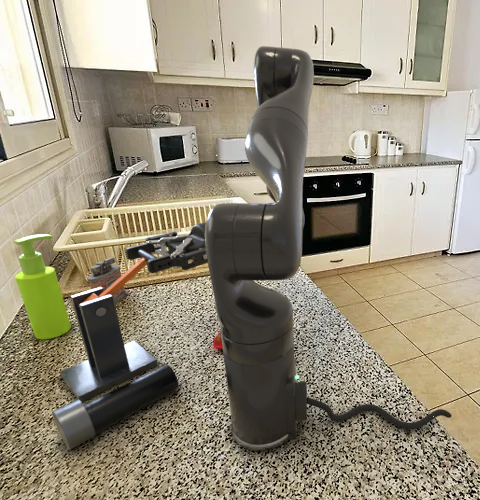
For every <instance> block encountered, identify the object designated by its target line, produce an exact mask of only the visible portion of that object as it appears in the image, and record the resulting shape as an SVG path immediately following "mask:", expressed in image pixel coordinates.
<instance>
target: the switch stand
mask: <svg viewBox="0 0 480 500" xmlns="http://www.w3.org/2000/svg"><path fill="white" fill-rule="evenodd" d="M103 292H104V291H103V288H102V287H98V288H95V289H92V290H91V289H88V290H85V291H82V292H79V293H75V294H73V295H70V300H71V304H72V308H73V312H74V314H75V318H76V321H77V326H78V329H79V332H80V336H81V339H82V343H83V346H84V350H85V353H86V357H87V360H84V361H82V362H80V363H78V364H75V365H73V366H71V367H70V366H69V367H68V368H65V369H63V370H61V371H59V374H60V377H61V379H62V380H63V382H64V383H65V384H66V386H67V387H68V388H69V390H70V391H71V392H72V394H73V395H74V397H75V398H76V400H77V399H79V400H80V401H81V402H82V403H83V402H86V401H87V400H89V399H91V398H93V397H95V396H97V395H99V394H101V393H103V392H106V391H108V390H109V389H112V388H113V387H115V386H118V385H120V384H121V383H125V382H126V381H128V380H130V379H132V378H135V377H136V376H138V375H140V374H142V373H144V372H146V371H148V370H150V369H152V368H154V367H156V366H158V361H157V358H155V357H154V356H153V355H152V354H151V353H149V351H148V350H146V349H145V348H144V347H143V346H141V345H140V344H139V343H138V342H137V341H136V339H135V340H132V341H129V342H127V343H125V342H124V338H123V334H122V330H121V326H120V322H119V316H118V313H117V310H116V309H117V308H116V304H115V303H114V299H113V296H112V295H111V294H109V295H106V296H103V297H100V298H97V299H94V300H91V301H88V302H85V303H82V302H84V301H85V300H86V299H87V298H88V297H89V296H91V295H92V294H93V293H94V294H95V295H97V296H99V295H100V294H101V293H103ZM81 303H82V304H81ZM79 306H80V307H79Z"/></svg>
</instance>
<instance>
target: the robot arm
mask: <svg viewBox="0 0 480 500" xmlns="http://www.w3.org/2000/svg"><path fill="white" fill-rule="evenodd" d="M314 80H315V70H314V62H313V59H312V57H311V55H310V54H309V53H308V52H307V51H305V50H302V49H299V48H289V47H281V46H280V47H278V46H277V47H276V46H267V45H263V46H258V48H257V49H256V52H255V55H254V59H253V81H254V90H255V98H256V105H257V108H256V109H255V111H254V112H253V113H252V115H251V118H250V121H249V124H248V128H247V131H246V135H245V141H244V152H245V155H246V158H247V161H248V163H249V164H250V166H251V168H252V170H253V171H254V172H255V174H256V175H257V176H258V177H259V179H260V180H261V181H262V182H263V183H264V184H265V185H266V186H265V189H266V193H267V195H268V196H269V198H270V199H271V200H272V201H273V202H268V203H258V202H257V203H252V202H251V203H250V202H249V203H248V202H247V203H245V202H243V203H242V202H226V203H225V202H224V203H218V204H215V205H214V206H213V207H212V208H211V209H210V211H209V212H208V214H207V217H206V221H205V222H204V221H203V222H201V223H196V224H194V225H193V226H192V227H191V229H190V232H189V234H188V235H186V234H178V232H177V231H171V232H168V233H163V234H159V235H153V236H149V237H145V243H141V244H137V245H132V246H129V247H126V248H125V255H126V259H127V260H129V261H134V260H137V259H140V258H139V257H138V256H137V252H138V251H139V250H145V251H147V252H148V253H150V254H152V255H154V256H155V255H161V256H159V257H158V258H155V259H151V260H148V261H147V265H146V266H147V267H146V268H147V271H148V272H149V274H155V273H159V272H163V271H165V270H169V269H171V268H172V269H180V268H181V270H182V271H187V270H190V269H194V268H196V267H200V266H203V265H206V264H207V268H208V272H209V277H210V282H211V287H212V292H213V298H214V306H215V311H216V317H217V319H218V322H219V329H220V331H221V337H222V346H223V349H222V353H223V363H224V369H225V380H226V387H227V394H228V404H229V411H230V422H231V433H232V437H233V439H234V441H235V442H236V443H237V444H238V445H239V446H241V447H242V448H244V449H246V450H249V451H254V452H255V451H256V452H264V451H269V450H273V449H275V448H276V449H277V448H278V447H280V446H281V445H283V444H285V443H286V442H287V441H290V440H295V439H297V432H298V423H299V422H300V421H307V420H308V405H309V406H311V407H315V408H319V409H320V410H323V411H324V412H325V413H326V415H327V416H328V418H329V419H330V420H331V421H333V422H337V423H338V422H343V421H346V420H349V419H350V418H352V417H353V416H355V415H356V414H359V413H361V412H364V411H370V412H375V413H377V414H379V415H381V416H382V417H383V418H385V419H386V420H387V421H388V422H390V423H391V424H393V425H394V426H396V427H398V428H401V429H403V430H404V429H405V430H416V429H419V428H422V427H424V426H426V425H427V424H428V423H430V422H431V421H433V420H434V419H436V418H437V417H440V416H441V417H445V418H446V419H451V418H452V413H450V412H449V411H448V410H446V409H443V408H438V409H436V410H434V411H432V412H430V413H428V414H427V415H426V416H425V417H423V418H421V419H419V420H416V421H413V422H407V421H402V420H400V419H398V418H396V417H394V416H393V415H392V414H390V413H389V412H388V411H387V410H385V409H384V408H382V407H381V406H378V405H376V404H371V403H370V404H369V403H366V404H365V403H364V404H360V405H357V406H355V407H354V408H352V409H350V410H349V411H347V412H344V413H342V414H335V412H334V411H333V409H332V408H331V406H330V405H328V404H326V403H325V402H323V401H321V400H318V399H314V398H311V397H308V384H307V383H308V382H307V381H297V380H298V379H299V375H297V359H296V357H295V336H294V335H295V334H294V332H295V331H294V309H293V305H292V301H290V299H289V298H288V297H287V296H286V295H285V294H283V293H281V292H279V291H277V290H274V289H271V288H269V287H266V286H264V285H261V284H259V283H258V282H256V281H259V282H260V281H261V282H262V281H263V282H264V281H265V282H266V281H269V282H272V281H273V282H274V281H285V280H289V279H290V280H291V279H292V278H293V277H295V275H296V274H297V273H298V271H299V269H300V265H301V261H302V255H303V240H304V239H303V238H304V237H303V236H304V235H303V233H304V227H305V222H306V221H305V213H304V208H303V207H304V206H303V203H304V202H303V198H304V197H303V195H304V194H303V192H304V191H303V190H304V189H303V188H304V187H303V186H304V176H305V168H306V167H305V166H306V159H307V152H308V151H307V150H308V140H309V110H310V103H311V97H312V93H313V88H314ZM191 261H192V262H191ZM433 416H434V417H433Z"/></svg>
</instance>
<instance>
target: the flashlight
mask: <svg viewBox="0 0 480 500" xmlns="http://www.w3.org/2000/svg"><path fill="white" fill-rule="evenodd" d="M178 380H179V379H178V377H177V375H176V373H175V371H174V370H173V368H172V367H171V366H170V365H169V364H167V363H166V364H164V365H162V366H160V367H158V368H156V369H153V370H151V371H148V373H145V374H144V375H141V376H139V377H137V378H135V379H134V380H131V381H129V382H127V383H126V384H125V383H124V384H123V385H121V386H119V387H117V388H115V389H113V390H111V391H109V392H107V393H105V394H103V395H101V396H99V397H97V398H95V399H93V400H91V401H89V402H87V403H85V404H84V403H83V402H81V401H80V400H79V399H77V398H76V399H75V400H74V401H71V402H69V403H67V404H65V405H63V406H61V407H59V408H56V409H54V410H53V411H52V412H51V413H52V418H53V421H54V423H55V427H56V429H57V431H58V434H59V435H60V439H61V440H62V442H63V444H64V446H65V447H66V449H67V450H68V451H70V450H73V449H74V448H76V447H77V446H80V445H81V444H83V443H85V442H87V441H88V440H91V439H92V438H93V437H95V436H96V435H97V434H99V433H100V432H103V431H104V430H106V429H108V428H109V427H111V426H113V425H115V424H117V423H118V422H120V421H122V420H123V419H126V418H127V417H129V416H131V415H133V414H135V413H137V412H138V411H140V410H142V409H143V408H145V407H147V406H149V405H150V404H153V403H155V402H156V401H158V400H159V399H162V398H163V397H165V396H168V394H171V393H172V392H174V391H176V390H177V389H178V388H179V381H178Z"/></svg>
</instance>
